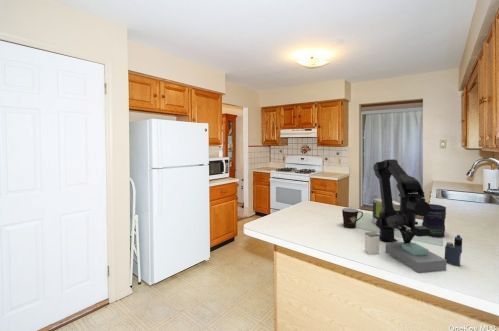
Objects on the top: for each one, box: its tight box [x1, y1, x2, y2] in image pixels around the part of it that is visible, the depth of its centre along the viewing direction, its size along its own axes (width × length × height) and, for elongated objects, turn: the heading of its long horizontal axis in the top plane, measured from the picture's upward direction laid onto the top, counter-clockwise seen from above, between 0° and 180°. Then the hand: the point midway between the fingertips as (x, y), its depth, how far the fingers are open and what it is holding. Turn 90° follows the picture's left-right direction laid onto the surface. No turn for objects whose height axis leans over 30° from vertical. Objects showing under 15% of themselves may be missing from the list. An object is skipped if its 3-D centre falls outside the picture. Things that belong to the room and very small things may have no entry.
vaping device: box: [444, 234, 463, 267], centre depth 100 cm, size 3×5×12 cm, turn 36°
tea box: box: [371, 198, 400, 231], centre depth 145 cm, size 15×10×15 cm, turn 179°
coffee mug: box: [341, 207, 364, 230], centre depth 145 cm, size 12×9×10 cm
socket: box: [385, 241, 448, 274], centre depth 104 cm, size 18×12×4 cm, turn 8°
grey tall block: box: [364, 231, 380, 255], centre depth 112 cm, size 4×4×9 cm
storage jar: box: [421, 203, 447, 239], centre depth 131 cm, size 10×10×15 cm
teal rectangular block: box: [402, 242, 429, 256], centre depth 103 cm, size 7×6×2 cm
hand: (406, 244), depth 107 cm, fingers closed
